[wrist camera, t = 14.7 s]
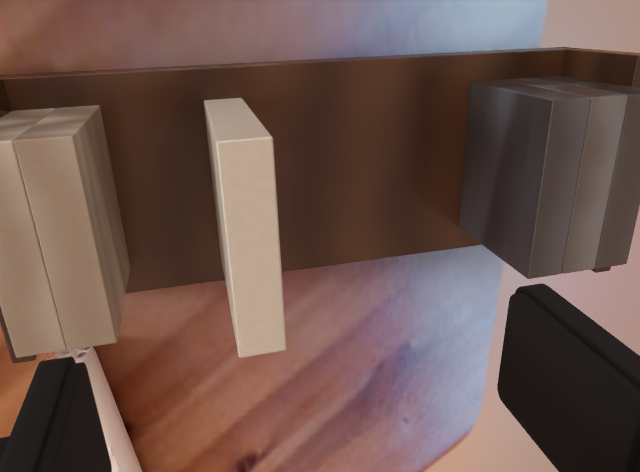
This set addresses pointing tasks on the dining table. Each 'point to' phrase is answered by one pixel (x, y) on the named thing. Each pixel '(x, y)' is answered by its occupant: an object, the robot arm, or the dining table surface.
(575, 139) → the book rack
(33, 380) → the robot arm
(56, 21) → the dining table surface
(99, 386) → the beige rod
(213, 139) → the beige book
